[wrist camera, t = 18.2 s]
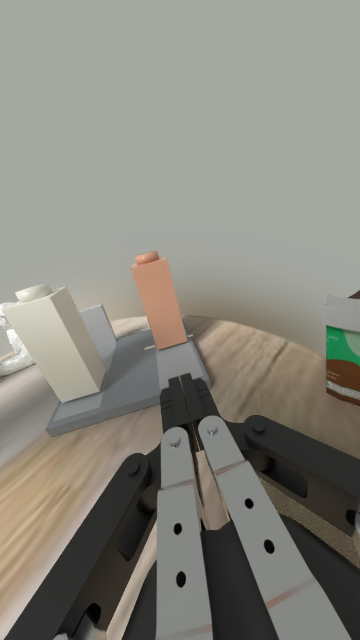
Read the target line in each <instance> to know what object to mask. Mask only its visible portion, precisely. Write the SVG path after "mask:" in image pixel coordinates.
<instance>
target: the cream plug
mask: <svg viewBox="0 0 360 640" xmlns="http://www.w3.org/2000/svg"><path fill="white" fill-rule="evenodd" d="M15 294H16V296H17V298H18V299H19V301H18V302H16V303H14V304H13V305H11V306H9V307H7V308H5V309H3V310H1V311H2V312H3V314H4V315H5V317H6V319H7V320H8V322H9V323H10V325H11V326H12V328H13V329H14V331H15V332H16V334H17V335H18V337H19V338H20V340H21V341H22V343H23V345H24V346H25V348H26V349H27V351H28V352H29V354H30V355H31V357H32V358H33V360H34V361H35V363H36V364H37V366H38V368H39V369H40V371H41V372H42V374H43V375H44V377H45V378H46V380H47V381H48V383H49V384H50V386H51V387H52V389H53V390H54V392H55V394H56V395H57V397H58V398H59V400H60V401H61V403H63V402H66V401H70V400H73V399H76V398H80V397H83V396H86V395H90V394H93V393H96V392H99V391H100V388H101V384H102V381H103V377H104V374H105V370H106V368H105V366H104V364H103V362H102V360H101V358H100V356H99V353H98V351H97V349H96V347H95V345H94V343H93V341H92V339H91V337H90V335H89V333H88V331H87V329H86V326H85V324H84V322H83V320H82V318H81V316H80V314H79V312H78V310H77V308H76V306H75V304H74V302H73V299H72V297H71V295H70V293H69V291H68V289H67V287H63V288H59V289H55V290H51V288H50V286H49V284H48V283H45V284H40V285H37V286H33V287H30V288H27V289H24V290H21V291H19V292H16V293H15Z"/></svg>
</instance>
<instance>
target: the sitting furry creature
mask: <svg viewBox="0 0 360 640" xmlns="http://www.w3.org/2000/svg"><path fill="white" fill-rule="evenodd" d="M13 304H14V303H11V302H8V303H6V302H4V303H2V304H1V305H0V327H2V328H4V329H5V330H7V334H8V339H9V340H10V344H12V349H14V354H15V355H16V356H15V357H9V358H8V359H7V360H3V361H2V362H1V364H0V375H1V376H5V375H9V374H11V373H14V372H16V371H19V370H21V369H24V368H26V367H29V366H31V365H33V364H35V361H34V360H33V358H32V357H31V355H30V354H29V352H28V351H27V349H26V348H25V346H24V345H23V343H22V341H21V340H20V338H19V337H18V335H17V334H16V332H15V331H14V329H13V328H12V326H11V325H10V323H9V322H8V320H7V319H6V317H5V315H4V314H3V312H2V311H1V310H3V309H5V308H7V307H9V306H11V305H13Z"/></svg>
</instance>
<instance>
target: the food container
mask: <svg viewBox="0 0 360 640" xmlns="http://www.w3.org/2000/svg"><path fill="white" fill-rule="evenodd" d="M321 324H324V325H326V326H327V327H326V329H327V330H326V334H327V335H326V340H327V341H326V344H327V345H326V347H327V348H326V393H328V394H330V395H332V396H334V397H336V398H338V399H340V400H343V401H346V402H349V403H352V404H355V405H358V406H360V291H358V292H357V293H355V294H354V295H352V296H350V297H348V298H341V297H334V296H327V302H326V305H324V309H323V314H322V318H321Z"/></svg>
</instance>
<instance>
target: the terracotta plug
mask: <svg viewBox="0 0 360 640" xmlns="http://www.w3.org/2000/svg"><path fill="white" fill-rule="evenodd" d="M135 259H136V262H137V263H134V264H132V267H131V271H132V274H133V277H134V280H135V283H136V286H137V289H138V292H139V295H140V298H141V301H142V304H143V307H144V310H145V313H146V316H147V319H148V322H149V325H150V328H151V331H152V334H153V337H154V340H155V343H156V346H157V349H158V350H159V349H163V348H166V347H170V346H173V345H177V344H180V343H183V342H187V338H186V334H185V330H184V326H183V322H182V318H181V314H180V310H179V307H178V302H177V299H176V294H175V290H174V286H173V282H172V278H171V275H170V270H169V267H168V263H167V259H166V258H165V257H164V256H160V257H159V256H158V252H157V251H151V252H148V253H144V254H140V255H137V256H135Z"/></svg>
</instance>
